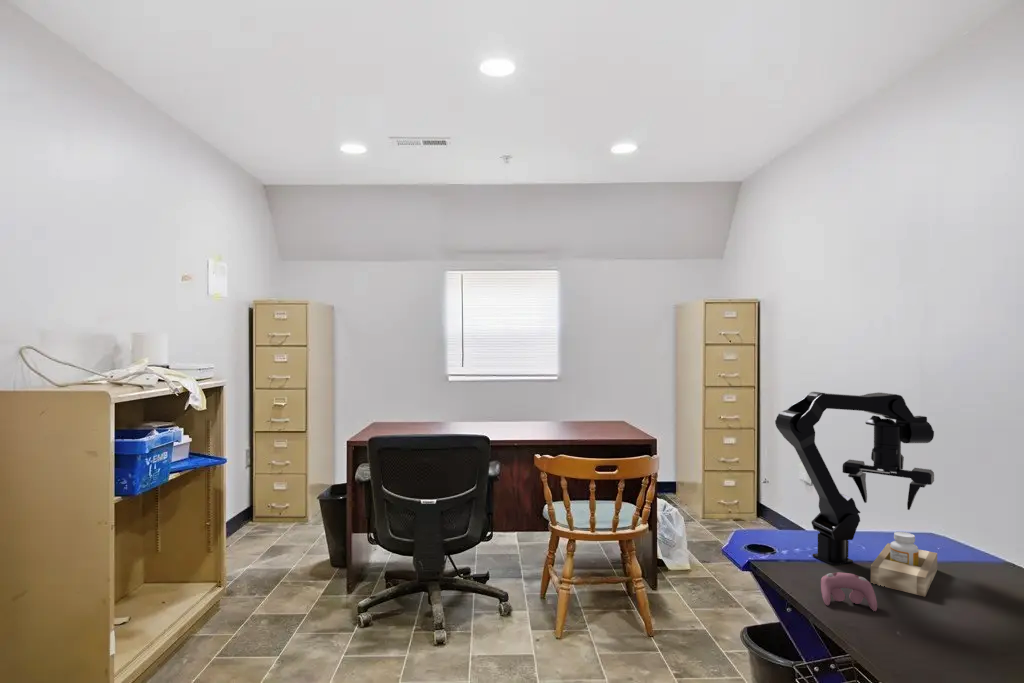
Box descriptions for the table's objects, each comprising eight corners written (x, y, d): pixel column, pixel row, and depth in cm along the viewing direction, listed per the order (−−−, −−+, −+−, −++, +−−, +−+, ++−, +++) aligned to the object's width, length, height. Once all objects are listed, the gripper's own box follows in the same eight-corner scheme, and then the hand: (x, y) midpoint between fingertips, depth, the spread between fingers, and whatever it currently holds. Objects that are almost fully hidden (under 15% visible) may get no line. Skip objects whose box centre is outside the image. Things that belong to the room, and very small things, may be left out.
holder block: (870, 583, 130) (870, 565, 130) (887, 559, 145) (887, 543, 145) (925, 596, 123) (925, 577, 123) (937, 569, 138) (937, 553, 138)
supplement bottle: (909, 572, 137) (910, 530, 137) (923, 581, 131) (923, 538, 131) (885, 571, 137) (885, 529, 137) (898, 580, 132) (898, 537, 132)
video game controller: (874, 613, 119) (870, 576, 122) (879, 611, 115) (875, 574, 118) (820, 606, 122) (817, 570, 125) (824, 604, 118) (821, 568, 121)
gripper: (937, 444, 145) (936, 506, 145) (852, 435, 158) (852, 493, 158) (931, 450, 137) (930, 516, 137) (842, 440, 150) (841, 501, 150)
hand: (886, 506), depth 146 cm, fingers open, 9 cm apart
